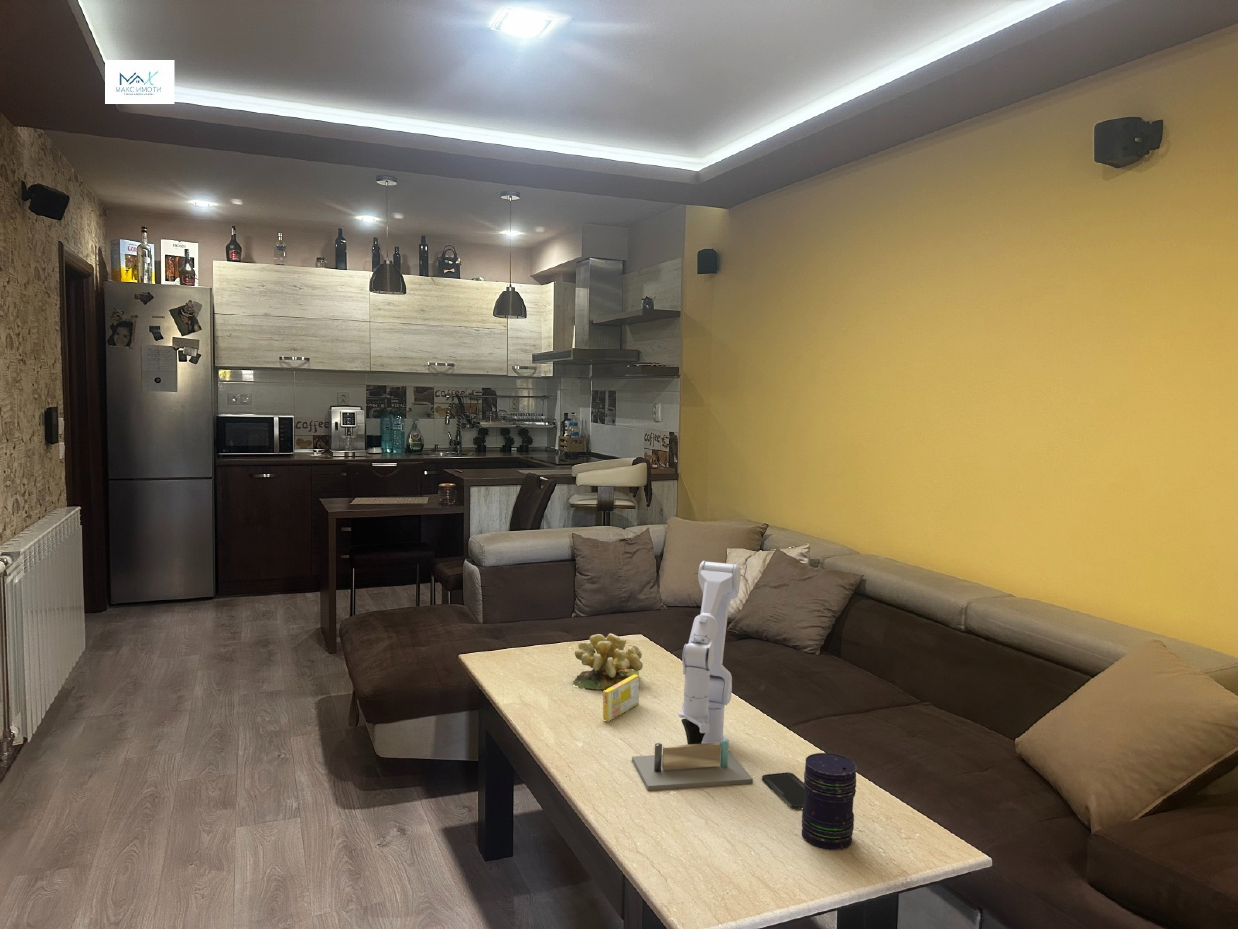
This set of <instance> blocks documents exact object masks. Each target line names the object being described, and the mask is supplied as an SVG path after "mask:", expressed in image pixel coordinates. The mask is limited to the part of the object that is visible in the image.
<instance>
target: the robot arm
mask: <svg viewBox="0 0 1238 929" xmlns="http://www.w3.org/2000/svg"><path fill="white" fill-rule="evenodd" d="M741 572H742V571H741V567H740V565H739V564H738V563H735V564H734V563H725V562H714V561H706V560H702V562H701V563H700V564H699V568H698V574H697V577H698V578H697V579H698V583H699V587H700V589H701V591H702V594H703V595H702V602H701V608H700V614H698V615H697V616H695V617H694V620H693V622H692V627H691V631H690V635H689V639H688V643H685V644H684V646H683V650H682V657H681V658H682V669H683V670H682V672H683V673H682V674H683V675H684V684H683V685H684V686H683V689H684V690H683V693H684V694H683V701H682V711H678V717H679V718H681V723H682V725H683V728H684V731H685V736H686V742H687V745H688V744H705V743H720V744H721V742H722V740H728V739H727V737H725V735H724V724H725V723H724V721H725V706H727V705H728V704H729V703H730V701H731V699H732V692H733V691H732V690H733V684H732V682H733V677H732V673H731V672H730V671H729V670H728V669H727V668H726V667H725V666H724V665H723V661H724V660H723V659H724V653H725V652H724V650H725V642H726V641H725V640H726V633H727V624H728V615H729V607H730V604H731V601H732V600H733V599H736V598H738V594H739V593H740V584H741ZM712 676H713V677H712ZM714 676H715V677H714ZM718 677H721V678H718Z"/></svg>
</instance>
